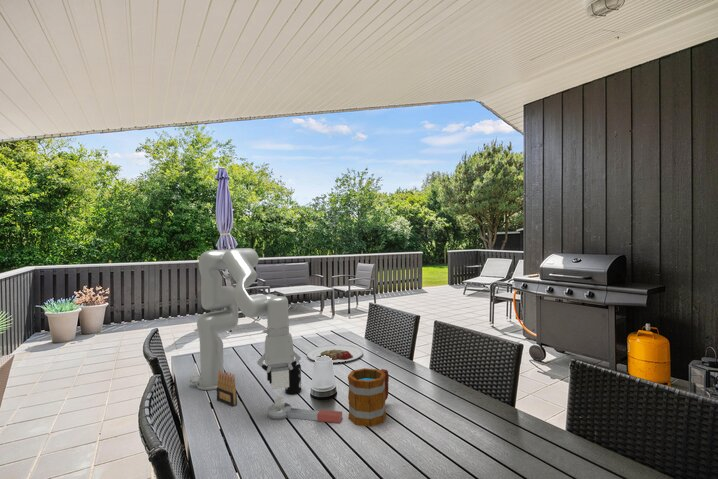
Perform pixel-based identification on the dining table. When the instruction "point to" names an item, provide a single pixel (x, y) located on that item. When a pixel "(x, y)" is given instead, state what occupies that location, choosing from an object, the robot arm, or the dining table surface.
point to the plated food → (336, 352)
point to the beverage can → (295, 380)
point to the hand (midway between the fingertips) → (279, 380)
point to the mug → (367, 396)
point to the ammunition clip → (226, 389)
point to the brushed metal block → (280, 376)
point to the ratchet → (301, 413)
